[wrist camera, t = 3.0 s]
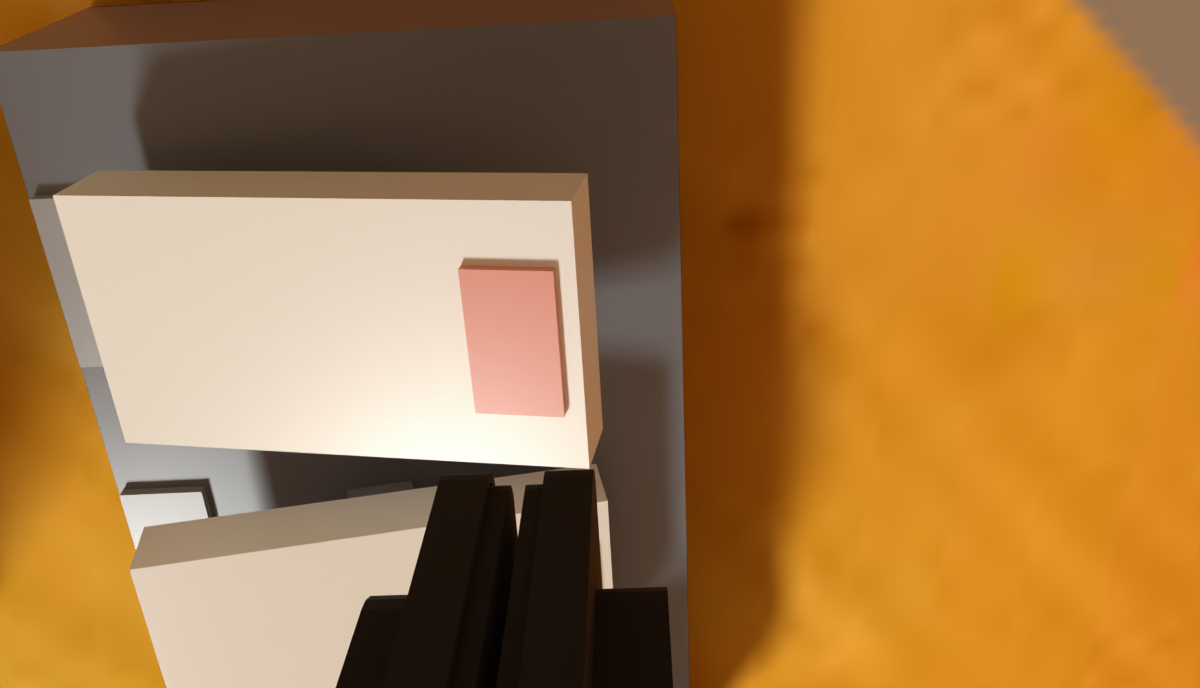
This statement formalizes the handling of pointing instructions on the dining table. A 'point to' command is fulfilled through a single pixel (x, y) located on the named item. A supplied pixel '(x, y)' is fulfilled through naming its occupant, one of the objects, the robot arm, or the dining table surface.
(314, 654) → the middle rocker
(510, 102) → the rocker switch box
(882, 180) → the dining table surface
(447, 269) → the rocker
